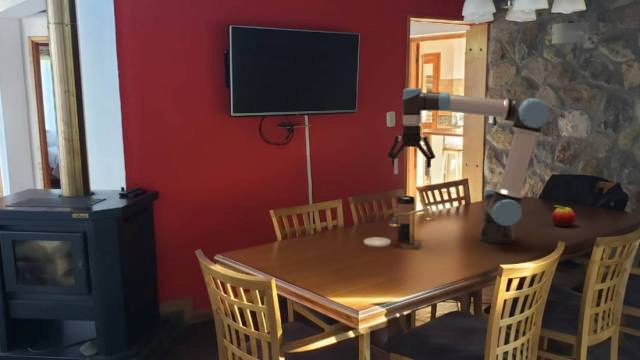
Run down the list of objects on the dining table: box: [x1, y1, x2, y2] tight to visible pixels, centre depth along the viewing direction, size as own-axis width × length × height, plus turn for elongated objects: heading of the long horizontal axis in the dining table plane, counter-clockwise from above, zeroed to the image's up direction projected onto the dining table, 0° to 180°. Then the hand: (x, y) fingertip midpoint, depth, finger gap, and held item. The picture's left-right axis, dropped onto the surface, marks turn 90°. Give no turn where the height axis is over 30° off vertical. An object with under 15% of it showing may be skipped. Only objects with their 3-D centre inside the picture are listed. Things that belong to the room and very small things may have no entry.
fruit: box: [551, 204, 576, 228], centre depth 280 cm, size 11×11×10 cm
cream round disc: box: [363, 236, 392, 248], centre depth 255 cm, size 12×12×1 cm
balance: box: [388, 207, 436, 251], centre depth 246 cm, size 20×6×18 cm, turn 63°
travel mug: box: [396, 195, 415, 243], centre depth 257 cm, size 8×8×20 cm
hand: (411, 174), depth 244 cm, fingers open, 13 cm apart
